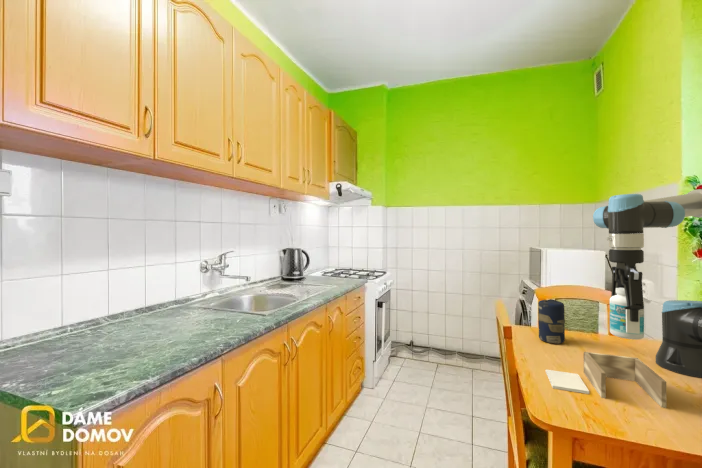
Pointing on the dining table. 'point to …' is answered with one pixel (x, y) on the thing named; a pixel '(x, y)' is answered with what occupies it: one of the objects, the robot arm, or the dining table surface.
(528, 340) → the dining table surface
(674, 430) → the dining table surface
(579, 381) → the tile
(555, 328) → the canister
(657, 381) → the beige three-walled frame
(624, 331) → the pill bottle
